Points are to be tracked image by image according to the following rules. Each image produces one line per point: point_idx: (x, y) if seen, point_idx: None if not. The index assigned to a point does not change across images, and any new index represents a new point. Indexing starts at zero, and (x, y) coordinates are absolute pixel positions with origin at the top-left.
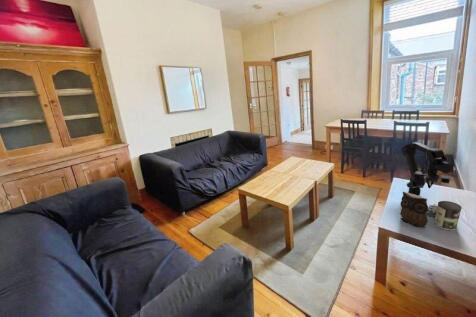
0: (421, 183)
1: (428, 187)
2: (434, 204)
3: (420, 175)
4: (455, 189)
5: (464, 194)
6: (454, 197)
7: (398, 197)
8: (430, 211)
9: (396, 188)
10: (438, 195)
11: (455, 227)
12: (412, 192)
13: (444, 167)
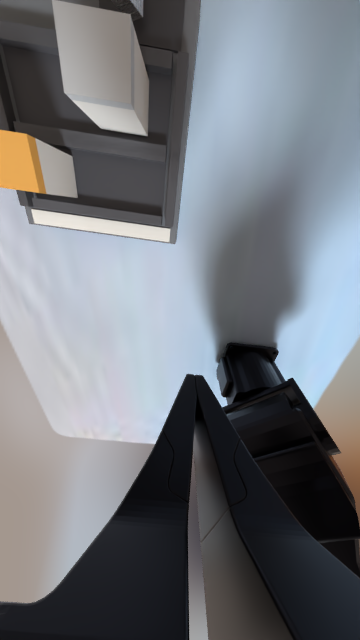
0: (248, 442)
1: (204, 382)
2: (121, 82)
3: None
4: (99, 439)
5: (67, 419)
6: (87, 391)
7: (342, 298)
8: (162, 56)
9: (314, 391)
10: (142, 387)
11: None
12: (263, 363)
13: None
